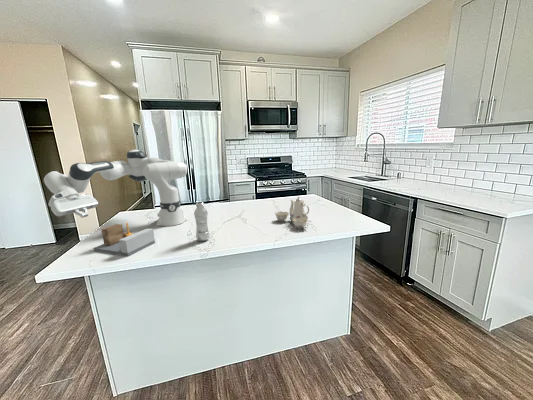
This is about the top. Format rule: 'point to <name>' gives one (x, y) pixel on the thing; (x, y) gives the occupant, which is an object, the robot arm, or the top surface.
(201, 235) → the plastic bottle
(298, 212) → the chinaware
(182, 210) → the robot arm
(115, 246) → the base
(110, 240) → the brown wooden block
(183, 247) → the top surface
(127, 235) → the needle
